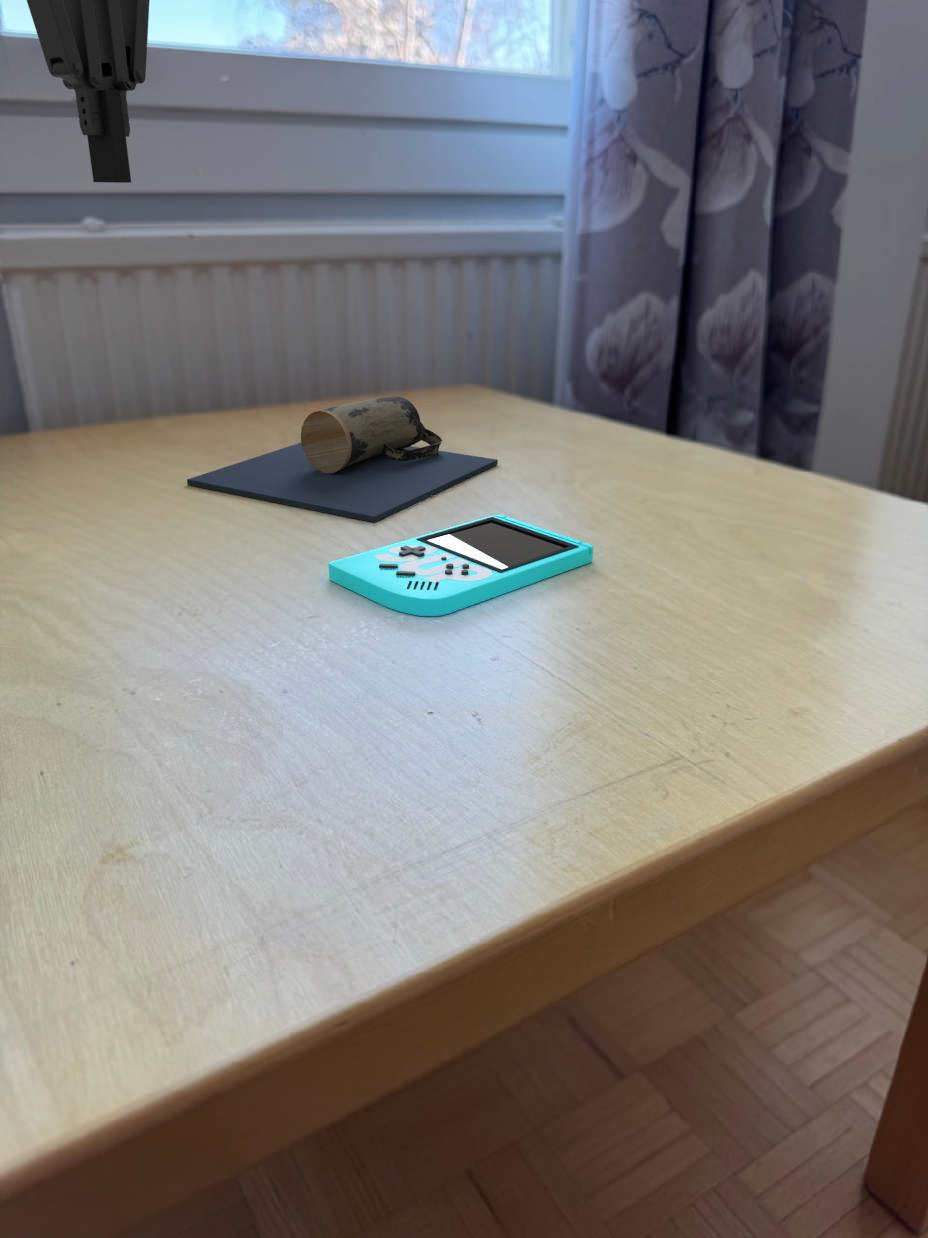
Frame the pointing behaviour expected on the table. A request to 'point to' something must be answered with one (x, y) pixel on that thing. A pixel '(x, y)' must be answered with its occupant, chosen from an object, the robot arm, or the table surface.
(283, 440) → the table surface
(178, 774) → the table surface
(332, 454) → the mug
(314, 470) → the mat
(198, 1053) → the table surface
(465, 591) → the handheld game console
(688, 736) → the table surface
